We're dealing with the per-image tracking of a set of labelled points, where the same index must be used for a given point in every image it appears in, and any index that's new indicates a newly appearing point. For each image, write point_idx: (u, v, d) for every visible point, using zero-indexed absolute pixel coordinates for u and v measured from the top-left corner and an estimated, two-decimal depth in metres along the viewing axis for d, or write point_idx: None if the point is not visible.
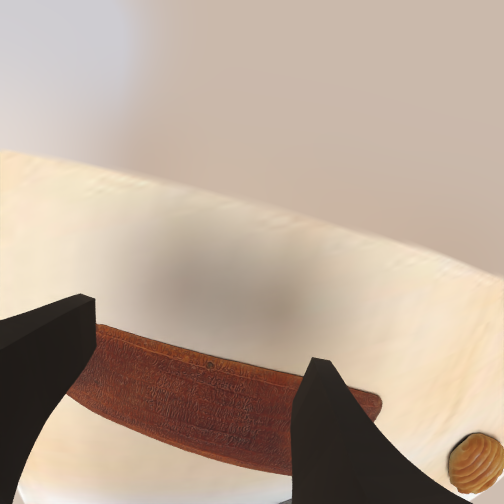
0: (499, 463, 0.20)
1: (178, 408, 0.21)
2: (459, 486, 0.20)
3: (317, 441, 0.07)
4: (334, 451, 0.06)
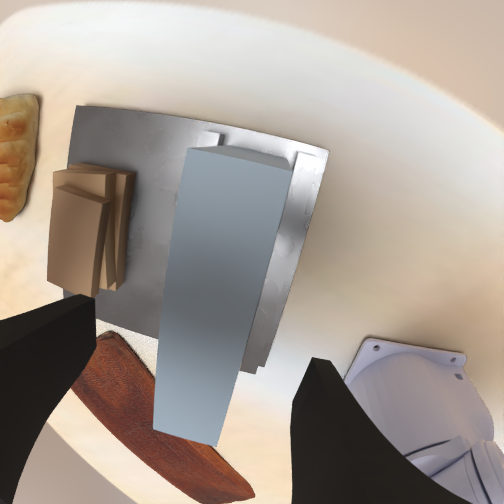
0: None
1: (171, 459, 0.26)
2: (12, 157, 0.16)
3: (317, 440, 0.07)
4: (334, 451, 0.06)
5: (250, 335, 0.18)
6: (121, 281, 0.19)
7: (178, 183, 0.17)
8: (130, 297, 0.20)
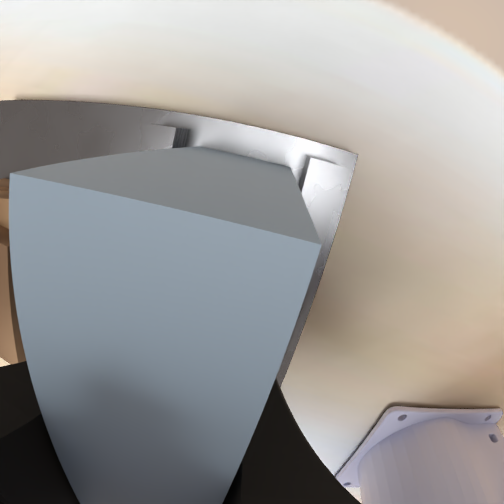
0: None
1: None
2: None
3: None
4: None
5: None
6: None
7: None
8: None
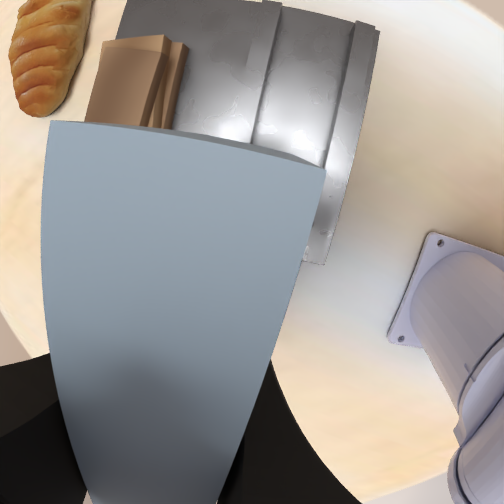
0: (13, 38, 0.13)
1: None
2: (62, 38, 0.14)
3: None
4: None
5: None
6: None
7: (235, 54, 0.15)
8: None
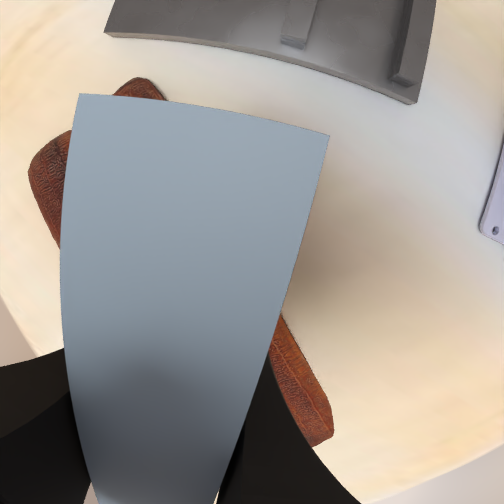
0: None
1: None
2: None
3: None
4: (240, 437, 0.06)
5: (411, 19, 0.09)
6: None
7: None
8: None
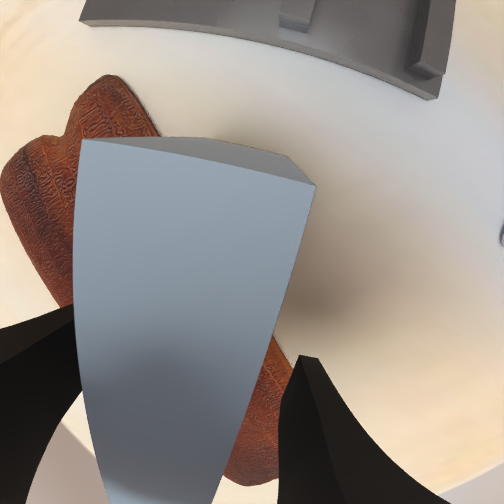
0: None
1: None
2: None
3: (301, 438, 0.07)
4: (316, 449, 0.06)
5: (431, 1, 0.07)
6: None
7: None
8: None
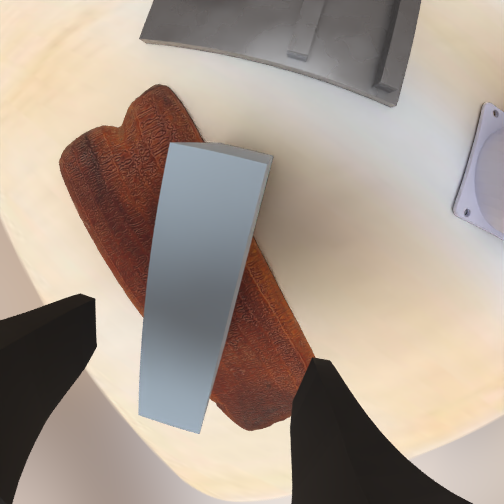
0: None
1: None
2: None
3: (316, 440, 0.07)
4: (334, 451, 0.06)
5: (392, 38, 0.12)
6: None
7: None
8: (242, 11, 0.14)
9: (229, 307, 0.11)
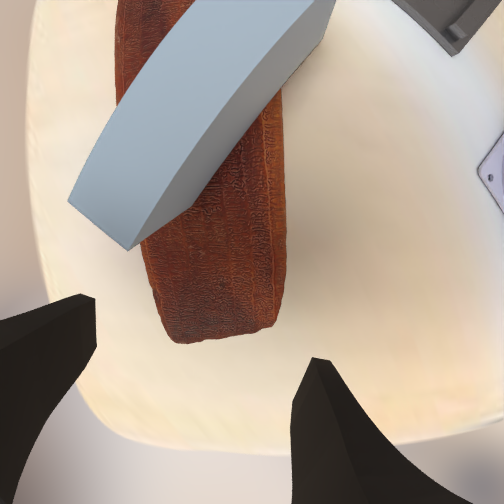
0: None
1: None
2: None
3: (316, 440, 0.07)
4: (334, 451, 0.06)
5: (474, 3, 0.11)
6: None
7: None
8: None
9: (254, 65, 0.08)
